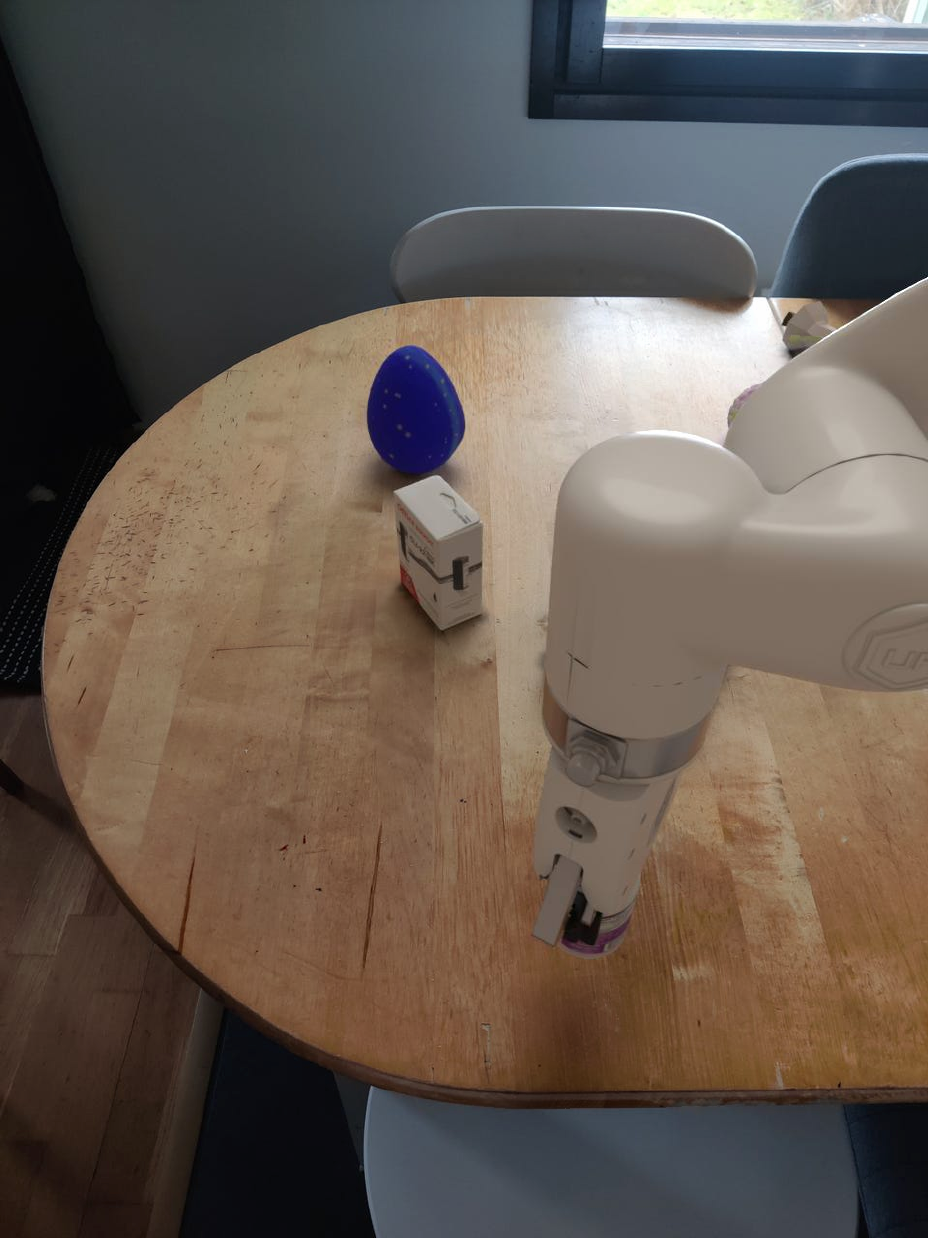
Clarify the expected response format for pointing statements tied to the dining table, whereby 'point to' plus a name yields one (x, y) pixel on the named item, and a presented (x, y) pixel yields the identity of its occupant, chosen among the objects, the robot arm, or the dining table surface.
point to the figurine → (806, 326)
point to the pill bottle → (605, 931)
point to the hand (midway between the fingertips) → (592, 885)
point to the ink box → (440, 550)
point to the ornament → (414, 412)
